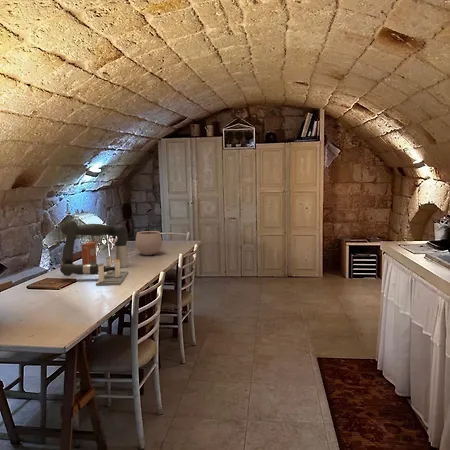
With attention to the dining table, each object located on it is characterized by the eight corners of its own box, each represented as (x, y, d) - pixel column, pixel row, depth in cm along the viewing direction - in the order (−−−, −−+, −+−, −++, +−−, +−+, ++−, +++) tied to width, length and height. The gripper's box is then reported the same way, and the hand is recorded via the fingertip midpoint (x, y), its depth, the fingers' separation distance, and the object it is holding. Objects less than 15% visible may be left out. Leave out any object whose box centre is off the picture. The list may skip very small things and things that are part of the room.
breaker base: (95, 285, 284) (94, 265, 282) (106, 273, 319) (105, 255, 317) (120, 285, 285) (119, 264, 283) (128, 273, 320) (127, 255, 318)
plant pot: (163, 256, 386) (162, 223, 383) (136, 257, 381) (135, 224, 378) (161, 251, 409) (160, 220, 406) (135, 253, 404) (134, 221, 401)
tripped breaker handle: (115, 277, 299) (114, 260, 298) (116, 275, 304) (115, 259, 303) (118, 277, 299) (118, 260, 298) (120, 275, 304) (119, 259, 303)
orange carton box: (98, 268, 338) (88, 272, 324) (90, 268, 340) (80, 272, 325) (97, 241, 336) (87, 244, 321) (89, 241, 337) (79, 244, 323)
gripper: (88, 266, 293) (113, 265, 294) (92, 262, 306) (117, 261, 307) (88, 276, 294) (114, 276, 295) (93, 272, 307) (117, 271, 308)
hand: (115, 268), depth 301 cm, fingers closed
